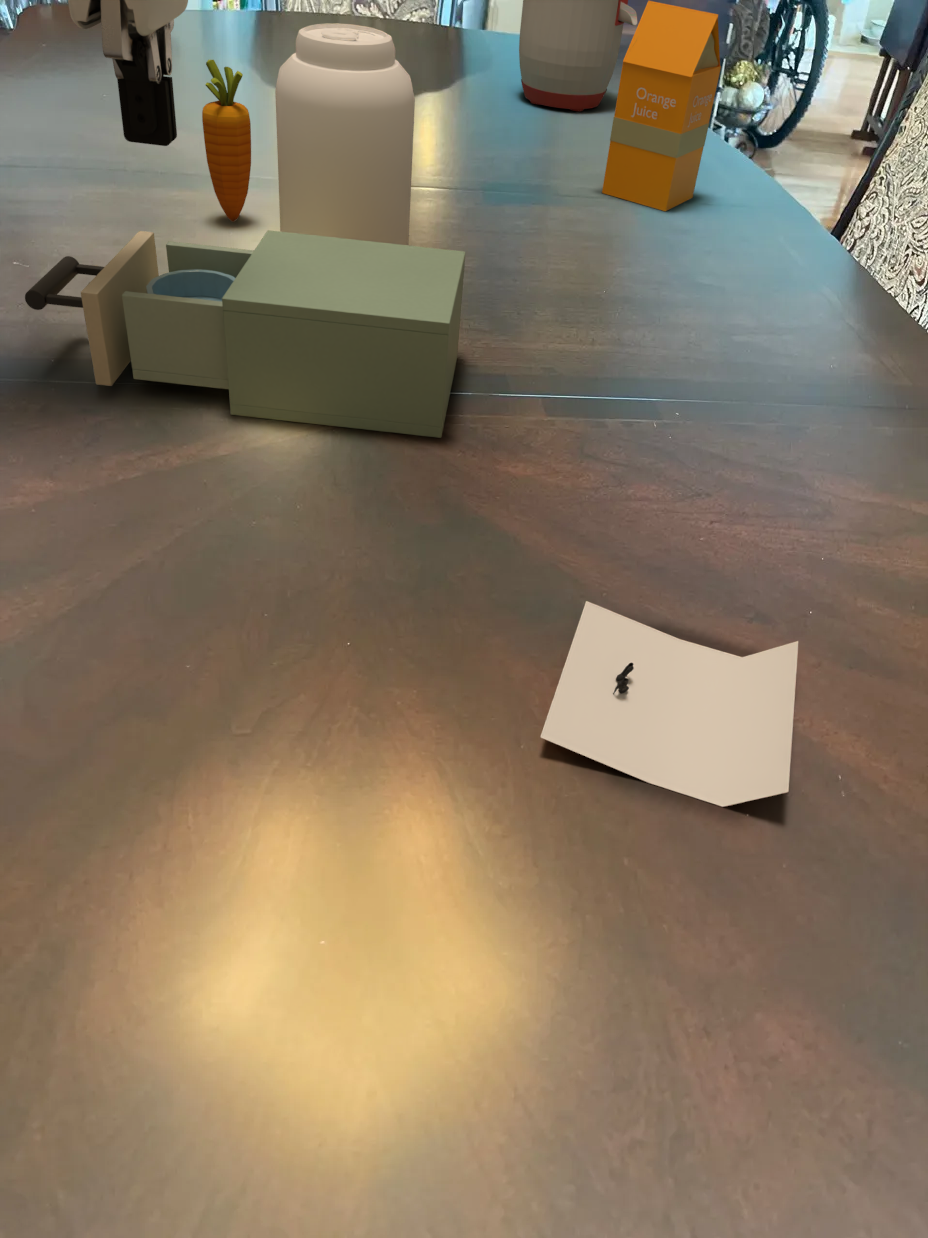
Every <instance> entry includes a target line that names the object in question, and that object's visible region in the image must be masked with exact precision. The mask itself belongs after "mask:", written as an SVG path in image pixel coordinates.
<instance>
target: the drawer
mask: <svg viewBox="0 0 928 1238" xmlns="http://www.w3.org/2000/svg"><path fill="white" fill-rule="evenodd" d="M165 249H166V257H167V268H168V273H169V272H174V271H178V270H194V269H201V270H211V271H218V272H221V273H225V274H228V275H231V276H233V277H235V278H236V277H237V275H238V274H239V272H240V271H241V269H242V268H243V266H244V265H245V263H246V262H247V260H248V259H249V258H250V256H251V255H252V253H253V252H254V250H255V249H246V248H245V249H244V248H237V247H236V248H235V247H227V246H218V245H208V244H200V243H190V242H182V241H181V242H180V241H171V240H170V241H168V242H166V244H165ZM77 275H86V276H93V279H92V280H91V281H89V283H88V284H86V286H85V287H84V288H83V289H82V290H81V291H80V296H74V295H63V294H59V293H60V292H62V290H63V289H64V288H65V287H66V286H67V285H69V283H70V282H71V281H72V280H73V279H75V277H76V276H77ZM158 276H160V275H159V265H158V256H157V249H156V239H155V233H154V232H152V231H145V230H144V231H143V230H138V231H137V232H136V234H134V236H133V237H131V239H130V240H129V241H128V242H127V243H126V244H125V245H124V246H123V247H122V248H121V249H120V251H119V252H117V253H116V254H115V255H114V256H113V258H112V259H110V260H109V262H108V263H107V264H106V265H105V266H100V265H93V264H92V265H91V264H80V262H79V261H78V259H76V258H75V257H73V256H71V255H66V256H63V257H62V258H61V259H60V260H59V261H58V262H57V263H56V264H55V265H54V266H52V268H50V270H49V271H48V272H47V273H46V274H44V275H43V276H42V277H41V278H40V279H38V281H37V282H36V283H35V284H34V285H33V286H32V287H30V288H29V289H28V290H27V291H26V292H25V294H24V300H25V303H26V304H27V306H28V307H29V308H31V309H32V310H35V311H40V310H41V311H42V309H44V308H45V307H47V305H53V306H61V307H71V308H81V309H83V315H84V322H85V326H86V331H87V339H88V344H89V350H90V356H91V362H92V368H93V374H94V380H95V384H96V385H100V386H108V387H112V386H113V385H114V383H116V381H117V379H118V378H119V377H120V376H121V374H122V373H123V372H124V370H125V369H126V368H127V366H128V365H129V363H131V364H130V365H131V369H132V377H133V380H141V381H149V382H158V383H166V384H177V385H184V386H185V385H186V386H194V387H203V388H213V389H220V390H221V389H222V390H229V386H228V373H227V360H226V347H225V334H224V321H223V306H222V302H221V301H211V300H202V299H193V298H184V297H175V296H166V295H156V294H147V291H146V286H147V284H148V283H149V282H150V281H151V280H152V279H153V278H155V277H158Z"/></svg>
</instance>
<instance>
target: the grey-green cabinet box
mask: <svg viewBox="0 0 928 1238" xmlns="http://www.w3.org/2000/svg"><path fill="white" fill-rule="evenodd" d="M253 250H254V252H253V253H252V255H251V256H250V258H249V259H248V260H247V262H246V263H245V265H244V266H243V268H242V269H241V271H240V272H239V274H238V275H237V277H236V278H235V280H234V281H233V283H232V284H231V286H230V287H229V289H228V290H227V292H226V293H225V295H224V296H223V298H222V306H223V321H224V334H225V347H226V360H227V373H228V386H229V389H228V394H229V395H228V397H229V398H228V399H229V409H230V415H231V416H240V417H250V418H258V419H265V420H266V419H267V420H275V421H276V420H277V421H285V422H295V423H302V424H303V423H304V424H313V425H320V426H330V427H331V426H332V427H340V428H347V429H348V428H349V429H358V430H367V431H375V432H383V433H394V434H403V435H411V436H421V437H429V438H439V439H441V438H442V436H443V431H444V426H445V422H446V416H447V410H448V407H449V406H448V405H449V400H450V396H451V392H452V385H453V380H454V375H455V370H456V366H457V360H458V353H459V341H460V340H459V339H460V328H461V317H462V316H461V315H462V303H463V290H464V278H465V267H466V266H465V265H466V251H463V250H454V249H444V248H435V247H427V246H417V245H410V244H409V245H400V244H390V243H381V242H372V241H363V240H353V239H344V238H335V237H326V236H316V235H307V234H298V233H289V232H280V230H269V229H268V230H266V232H265V233H264V235H263V236H262V238H261V240H260V241H259V242H258V244H257V245H256V247H255V249H253Z"/></svg>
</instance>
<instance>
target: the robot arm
mask: <svg viewBox="0 0 928 1238" xmlns="http://www.w3.org/2000/svg"><path fill="white" fill-rule="evenodd" d="M67 3H68V9H69V10H68V11H69V16H70V18H71V20H72V22H73V23H74V24H75V26H77V28H79V29H83V30H88V29H90V28H91V29H92V28H93V27H96V26H97V25H99V24H100V25H101V26H100V27H101V45H102V54H103V56H104V58H108V59H112V65H113V70H114V75H115V78H116V79H117V90H118V97H119V98H118V99H119V106H120V115H121V123H122V124H121V125H122V131H123V137H124V139H125V140H126V142H130V143H136V144H143V145H152V146H163V147H168V146H170V144H171V143H172V142H173V141H175V140H176V139H177V137H178V130H177V129H178V128H177V118H176V117H177V116H176V108H175V106H176V105H175V95H174V93H175V92H174V83H173V76H171V75H172V72H173V52H172V51H173V50H172V32H173V30H174V27H175V19H177V18H178V17H179V16H181V15H182V14H183V13H184V12H185V10H187V7H188V4H189V0H67Z"/></svg>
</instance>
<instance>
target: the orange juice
mask: <svg viewBox="0 0 928 1238" xmlns="http://www.w3.org/2000/svg"><path fill="white" fill-rule="evenodd" d="M719 30H720V29H719V14H717V13H713V12H709V11H703V10H698V9H692V8H688V7H684V6H683V7H682V6H678V5H672V4H668V3H663V2H659V1H658V2H657V1H653V0H647V3H646V5H645V8H644V10H643V12H642V15H641V17H640V20H639V22H638V23H637V27H636V28H635V31H634V33H633V36H632V39H631V41H630V43H629V45H628V48H627V50H626V53H625V55H624V57H623V60H622V64H621V65H622V67H621V72H620V78H619V83H618V90H617V96H616V104H615V110H614V116H613V118H612V124H611V125H612V126H611V131H610V137H609V146H608V153H607V158H606V159H607V160H606V165H605V173H604V178H603V183H602V188H601V189H602V190H601V194H604V195H608V196H611V197H615V198H618V199H622V200H625V201H629V202H632V203H636V204H637V205H643V206H645V207H649V208H652V209H655V210H659V211H662V212H667V211H669V210H671V209H673V208H675V207H677V206H679V205H681V204H683V203H685V202H687V201H689V200H691V199H693V197H694V193H695V188H696V184H697V180H698V175H699V170H700V165H701V161H702V156H703V151H704V147H705V144H706V141H707V135H708V131H709V126H710V120H711V115H712V112H713V111H712V110H713V105H714V100H715V96H716V91H717V86H718V83H719V78H720V72H721V69H722V66H721V57H720V56H721V53H720V33H719V32H720V31H719Z"/></svg>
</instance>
